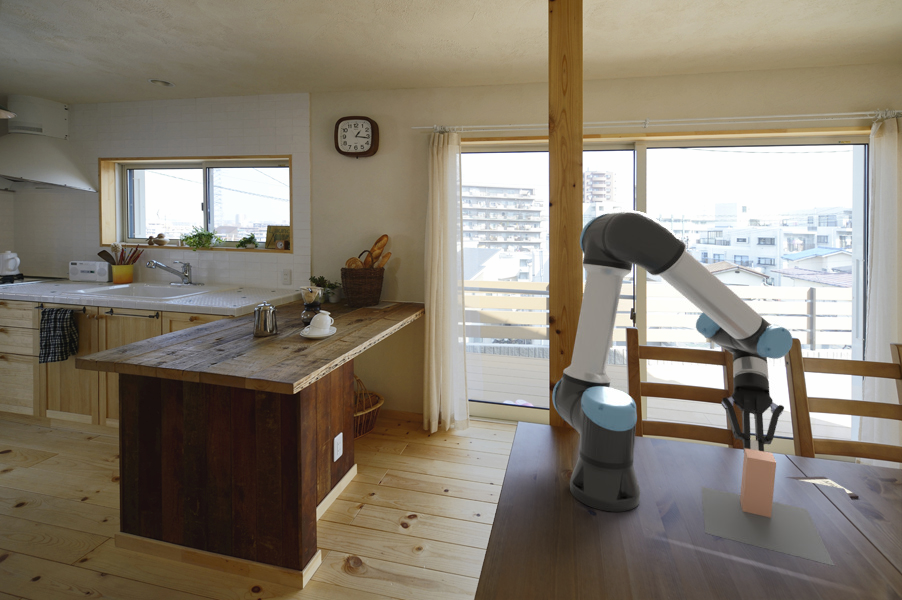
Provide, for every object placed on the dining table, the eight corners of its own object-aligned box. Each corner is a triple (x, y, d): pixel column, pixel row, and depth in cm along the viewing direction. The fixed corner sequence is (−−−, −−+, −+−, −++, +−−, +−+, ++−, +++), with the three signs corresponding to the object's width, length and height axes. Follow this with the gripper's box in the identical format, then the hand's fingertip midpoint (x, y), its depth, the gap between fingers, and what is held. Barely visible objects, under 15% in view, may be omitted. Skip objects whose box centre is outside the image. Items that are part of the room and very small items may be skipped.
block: (742, 511, 97) (747, 457, 96) (740, 499, 102) (744, 448, 100) (770, 517, 95) (776, 462, 94) (766, 505, 100) (772, 453, 98)
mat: (704, 535, 90) (705, 532, 90) (701, 488, 107) (701, 486, 107) (834, 568, 81) (834, 565, 81) (806, 511, 98) (806, 509, 98)
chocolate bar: (754, 478, 112) (824, 476, 113) (754, 481, 112) (823, 480, 113) (783, 497, 103) (858, 496, 104) (783, 501, 103) (858, 500, 104)
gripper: (778, 390, 116) (786, 482, 103) (719, 383, 121) (719, 469, 108) (785, 374, 110) (793, 470, 97) (722, 367, 116) (723, 456, 103)
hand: (754, 469), depth 103 cm, fingers closed
